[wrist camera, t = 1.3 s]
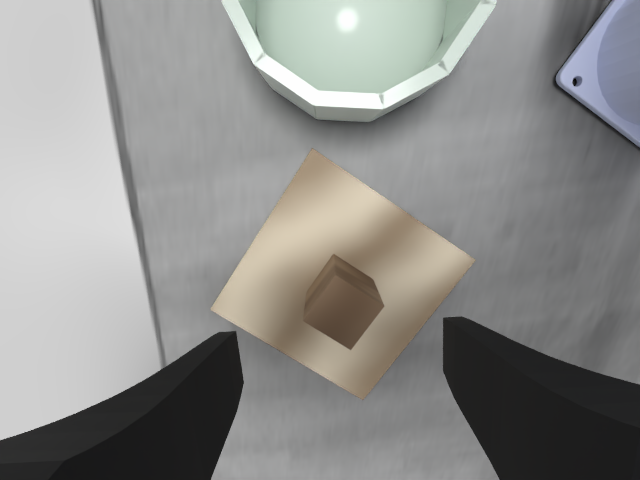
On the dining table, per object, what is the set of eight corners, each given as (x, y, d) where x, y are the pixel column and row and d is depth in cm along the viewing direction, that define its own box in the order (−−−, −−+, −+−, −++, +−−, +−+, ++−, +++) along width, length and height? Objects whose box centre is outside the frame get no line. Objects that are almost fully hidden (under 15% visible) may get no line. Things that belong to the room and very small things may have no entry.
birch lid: (470, 256, 21) (511, 283, 16) (361, 392, 23) (371, 449, 19) (312, 148, 20) (309, 144, 15) (214, 304, 22) (184, 342, 17)
